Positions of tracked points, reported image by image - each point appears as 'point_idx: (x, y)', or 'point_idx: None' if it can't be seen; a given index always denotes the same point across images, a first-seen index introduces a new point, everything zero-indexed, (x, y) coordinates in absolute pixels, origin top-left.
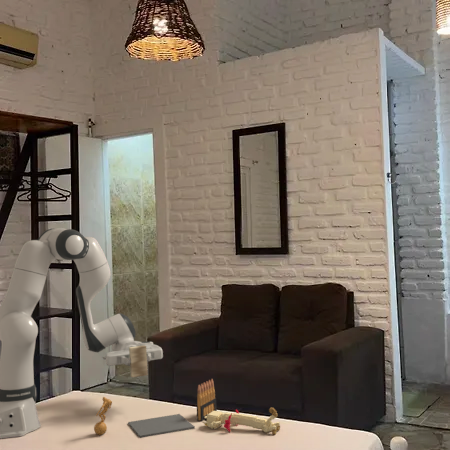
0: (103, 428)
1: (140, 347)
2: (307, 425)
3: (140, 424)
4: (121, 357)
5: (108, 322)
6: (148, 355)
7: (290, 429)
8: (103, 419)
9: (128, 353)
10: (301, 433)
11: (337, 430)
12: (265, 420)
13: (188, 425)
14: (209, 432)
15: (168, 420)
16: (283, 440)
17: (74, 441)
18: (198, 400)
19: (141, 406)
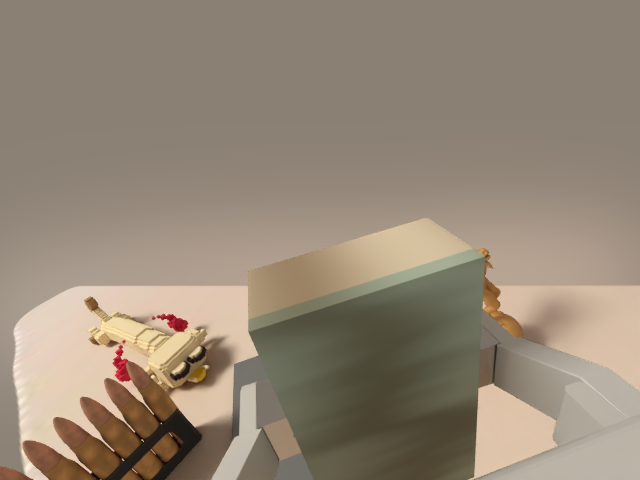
0: None
1: (317, 253)
2: (34, 361)
3: None
4: (610, 373)
5: None
6: (253, 409)
7: (79, 343)
8: (490, 315)
9: (568, 453)
10: (86, 324)
11: (32, 333)
12: (111, 319)
13: (245, 374)
14: (217, 340)
15: None
16: (136, 300)
17: (549, 305)
18: (165, 392)
19: None
